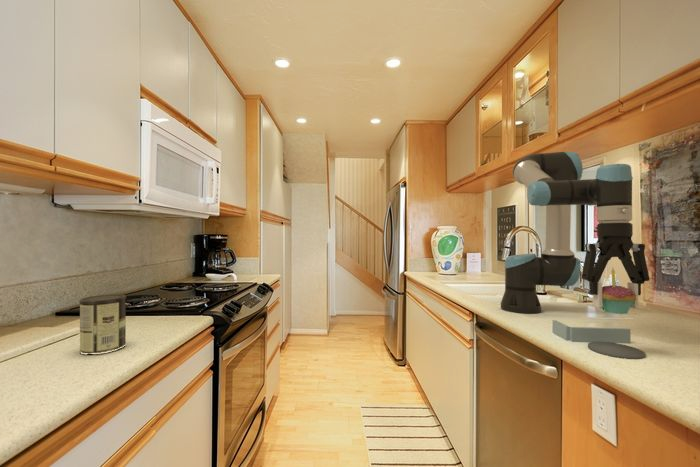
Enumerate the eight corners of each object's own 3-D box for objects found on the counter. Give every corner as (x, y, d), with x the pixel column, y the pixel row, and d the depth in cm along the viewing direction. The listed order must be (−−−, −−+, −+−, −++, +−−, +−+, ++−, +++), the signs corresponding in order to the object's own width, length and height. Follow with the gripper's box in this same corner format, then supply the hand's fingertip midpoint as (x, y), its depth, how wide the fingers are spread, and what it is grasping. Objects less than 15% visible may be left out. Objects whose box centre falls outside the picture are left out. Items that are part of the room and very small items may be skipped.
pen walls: (552, 332, 107) (552, 320, 107) (609, 334, 105) (609, 321, 105) (568, 341, 98) (568, 327, 98) (630, 343, 96) (630, 329, 96)
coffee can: (106, 341, 97) (107, 293, 98) (134, 344, 95) (135, 295, 95) (68, 353, 88) (69, 299, 88) (98, 357, 85) (99, 301, 85)
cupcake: (632, 317, 84) (631, 269, 84) (591, 311, 90) (591, 266, 90) (639, 312, 89) (639, 267, 89) (600, 307, 96) (600, 265, 96)
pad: (578, 343, 96) (578, 341, 96) (623, 344, 95) (623, 342, 95) (606, 358, 84) (606, 355, 84) (658, 359, 83) (658, 357, 83)
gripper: (581, 222, 87) (582, 309, 87) (668, 221, 85) (669, 311, 85) (565, 223, 95) (566, 303, 94) (645, 223, 93) (646, 305, 92)
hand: (615, 307), depth 90 cm, fingers closed on cupcake, 8 cm apart
